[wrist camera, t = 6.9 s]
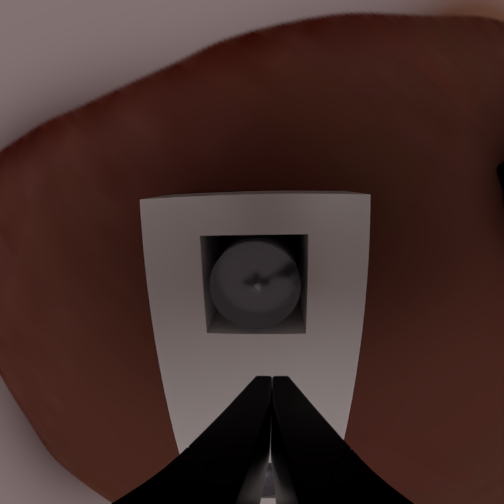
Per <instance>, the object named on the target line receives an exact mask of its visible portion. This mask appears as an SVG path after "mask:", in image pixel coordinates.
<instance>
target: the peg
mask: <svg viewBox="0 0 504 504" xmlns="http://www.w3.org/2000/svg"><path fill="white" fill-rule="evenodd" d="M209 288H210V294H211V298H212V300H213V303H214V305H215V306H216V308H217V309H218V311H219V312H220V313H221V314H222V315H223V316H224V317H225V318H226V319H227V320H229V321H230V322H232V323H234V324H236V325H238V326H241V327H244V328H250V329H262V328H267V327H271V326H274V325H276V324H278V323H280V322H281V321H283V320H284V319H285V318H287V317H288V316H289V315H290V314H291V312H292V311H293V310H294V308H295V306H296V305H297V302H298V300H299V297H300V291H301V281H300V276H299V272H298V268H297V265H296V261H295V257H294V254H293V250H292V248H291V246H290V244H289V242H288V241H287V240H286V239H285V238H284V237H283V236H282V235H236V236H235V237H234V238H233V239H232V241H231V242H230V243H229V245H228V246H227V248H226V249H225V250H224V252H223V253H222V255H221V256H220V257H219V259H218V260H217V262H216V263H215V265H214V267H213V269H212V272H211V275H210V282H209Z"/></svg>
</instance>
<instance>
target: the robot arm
mask: <svg viewBox="0 0 504 504" xmlns="http://www.w3.org/2000/svg"><path fill="white" fill-rule="evenodd" d="M503 170H504V162H503V163H502V164H501V165H500V166H499V167H498V175H499V177H500V180H501V183H502V186H503V189H504V172H503ZM270 441H271V465H272V473H273V482H274V490H275V499H276V504H414V503H412V502H411V501H410V500H408V499H407V498H406V497H404V496H403V495H402V494H400V493H399V492H398V491H396V490H395V489H394V488H392V487H391V486H390V485H389V484H387V483H386V482H385V481H384V480H383V479H382V478H380V477H379V476H378V475H377V474H376V473H375V472H373V471H372V470H371V469H370V468H369V467H368V466H367V465H366V464H365V463H364V462H363V461H362V460H361V459H360V457H359V456H358V455H357V454H356V453H355V452H354V451H353V450H352V449H351V448H350V447H349V445H348V444H347V443H346V442H345V441H344V440H343V439H342V438H341V437H340V435H339V434H338V433H337V432H336V431H335V430H334V429H333V427H332V426H331V425H330V424H329V423H328V422H327V421H326V419H325V418H324V417H323V416H322V415H321V414H320V413H319V411H318V410H317V409H316V408H315V407H314V406H313V404H312V403H311V402H310V401H309V400H308V399H307V397H306V396H305V395H304V394H303V393H302V392H301V390H300V389H299V388H298V387H297V386H296V384H295V383H294V382H293V381H292V380H291V378H290V377H288V376H274V377H273V378H272V377H271V376H256V377H255V378H254V379H253V380H252V381H251V382H250V383H249V384H248V385H247V386H246V387H245V389H244V390H243V391H242V392H241V393H240V394H239V395H238V396H237V397H236V398H235V399H234V400H233V401H232V402H231V404H230V405H229V406H228V407H227V408H226V409H225V410H224V411H223V412H222V413H221V414H220V415H219V416H218V417H217V418H216V419H215V420H214V421H213V422H212V423H211V424H210V425H209V426H208V427H207V428H206V429H205V430H204V431H203V432H202V433H201V434H200V435H199V436H198V437H197V438H196V439H195V440H194V441H193V442H192V443H191V444H190V445H189V448H186V449H185V450H184V451H183V452H182V453H181V454H180V455H179V456H178V457H176V458H175V459H174V460H173V461H172V462H171V463H170V464H168V465H167V466H166V467H165V468H164V469H162V470H161V471H160V472H158V473H157V474H156V475H154V476H153V477H152V478H150V479H149V480H148V481H146V482H145V483H143V484H142V485H140V486H139V487H137V488H136V489H134V490H132V491H131V492H129V493H128V494H126V495H125V496H123V497H121V498H120V499H118V500H117V501H115V502H113V503H112V504H260V501H261V497H262V492H263V487H264V482H265V477H266V472H267V467H268V462H269V456H270ZM350 449H351V450H350Z"/></svg>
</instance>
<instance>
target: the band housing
mask: <svg viewBox="0 0 504 504" xmlns="http://www.w3.org/2000/svg"><path fill="white" fill-rule="evenodd" d="M140 212H141V227H142V239H143V250H144V261H145V270H146V279H147V288H148V296H149V303H150V310H151V317H152V324H153V331H154V337H155V343H156V349H157V355H158V360H159V366H160V371H161V376H162V381H163V386H164V391H165V396H166V400H167V405H168V409H169V414H170V418H171V422H172V426H173V431H174V435H175V439H176V442H177V446H178V450H179V454H181V453H182V452H183V451H184V450H185V449H186V448H189V445H190V444H191V443H192V442H193V441H194V440H195V439H196V438H197V437H198V436H199V435H200V434H201V433H202V432H203V431H204V430H205V429H206V428H207V427H208V426H209V425H210V424H211V423H212V422H213V421H214V420H215V419H216V418H217V417H218V416H219V415H220V414H221V413H222V412H223V411H224V410H225V409H226V408H227V407H228V406H229V405H230V404H231V402H232V401H233V400H234V399H235V398H236V397H237V396H238V395H239V394H240V393H241V392H242V391H243V390H244V389H245V387H246V386H247V385H248V384H249V383H250V382H251V381H252V380H253V379H254V378H255V377H256V376H271V377H272V378H273V377H274V376H288V377H290V378H291V380H292V381H293V382H294V383H295V384H296V386H297V387H298V388H299V389H300V390H301V392H302V393H303V394H304V395H305V396H306V397H307V399H308V400H309V401H310V402H311V403H312V404H313V406H314V407H315V408H316V409H317V410H318V411H319V413H320V414H321V415H322V416H323V417H324V418H325V419H326V421H327V422H328V423H329V424H330V425H331V426H332V427H333V429H334V430H335V431H336V432H337V433H338V434H339V435H340V437H341V438H342V439H343V440H344V436H345V432H346V427H347V422H348V417H349V412H350V407H351V401H352V396H353V390H354V384H355V378H356V372H357V365H358V359H359V351H360V344H361V336H362V328H363V319H364V309H365V299H366V287H367V274H368V258H369V238H370V194H364V193H356V192H349V191H241V192H213V193H191V194H173V195H166V196H159V197H153V198H146V199H140ZM282 234H299V276H300V281H301V291H300V297H299V300H298V302H297V305H296V306H295V308H294V310H293V311H292V312H291V314H290V315H289V316H288V317H287V318H285V319H284V320H283V321H281V322H280V323H278V324H276V325H274V326H271V327H267V328H262V329H250V328H244V327H241V326H238V325H236V324H234V323H232V322H230V321H229V320H227V319H226V318H225V317H224V316H223V315H222V314H221V313H220V312H219V311H218V309H217V308H216V306H215V305H214V303H213V300H212V298H211V294H210V288H209V282H210V275H211V272H212V269H213V267H214V265H215V263H216V262H217V260H218V259H219V257H220V256H221V252H220V235H282ZM268 463H271V441H270V456H269V462H268ZM260 504H276V499H275V495H273V496H267V497H261V501H260Z"/></svg>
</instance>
